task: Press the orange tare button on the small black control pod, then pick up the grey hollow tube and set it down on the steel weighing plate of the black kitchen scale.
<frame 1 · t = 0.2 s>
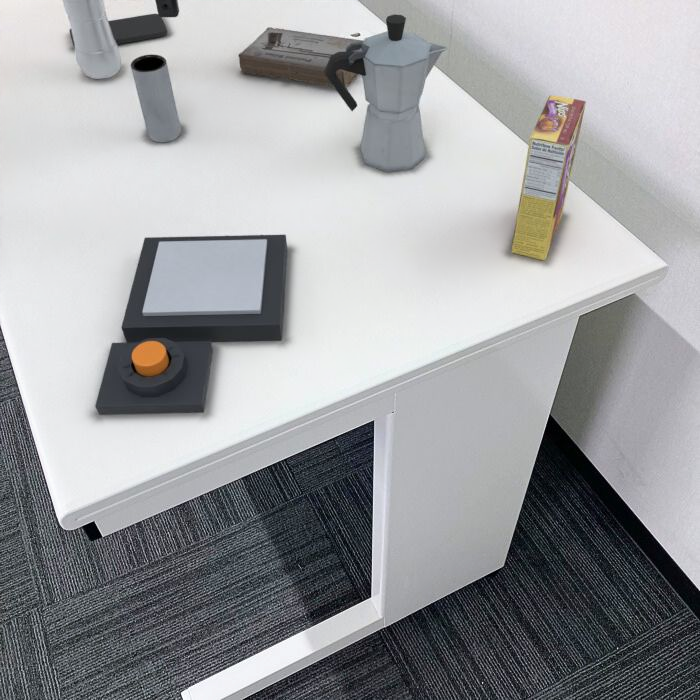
scale: (211, 294, 81), on the table
coffee maker: (384, 155, 98), on the table
candy box: (535, 235, 87), on the table
phone: (119, 35, 122), on the table
box: (305, 70, 113), on the table
grey hollow tube: (165, 134, 102), on the table
tare button: (150, 358, 70), point 3 cm above the table, slide at 0.1 cm
plastic bottle: (103, 74, 113), on the table
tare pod: (158, 381, 73), on the table
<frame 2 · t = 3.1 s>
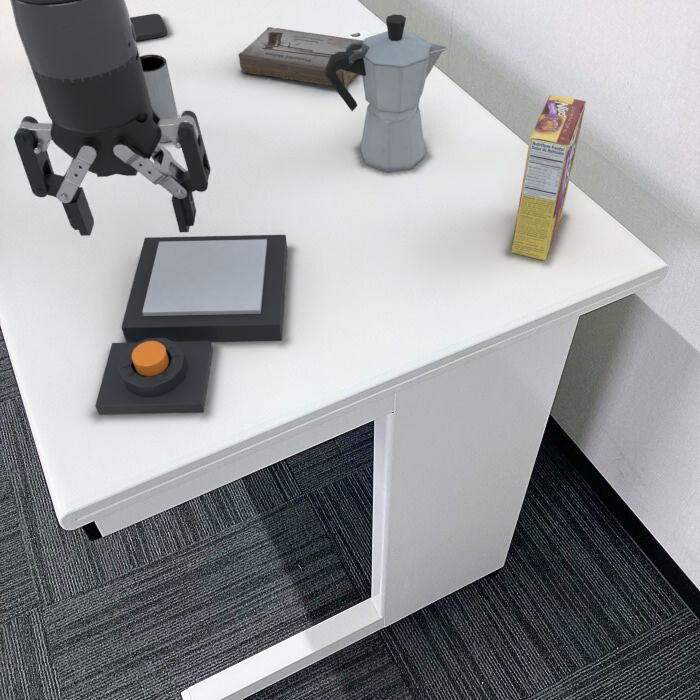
hand: (137, 228, 65), 15 cm above the table, tool pointing down, fingers open, 8 cm apart
nothing on the table moved.
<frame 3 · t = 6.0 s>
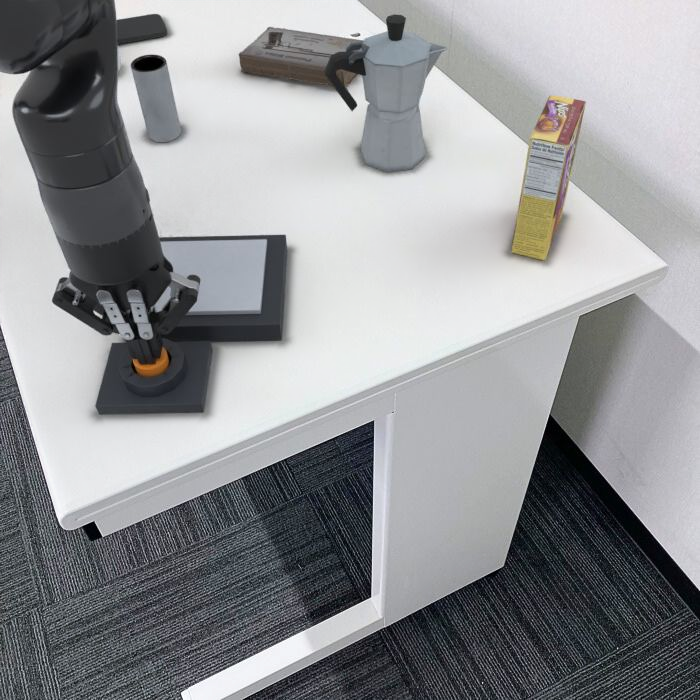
hand: (149, 357, 70), 4 cm above the table, tool pointing down, fingers closed
tare button: (151, 361, 71), point 3 cm above the table, slide at -0.3 cm, touching gripper
everything else where it was.
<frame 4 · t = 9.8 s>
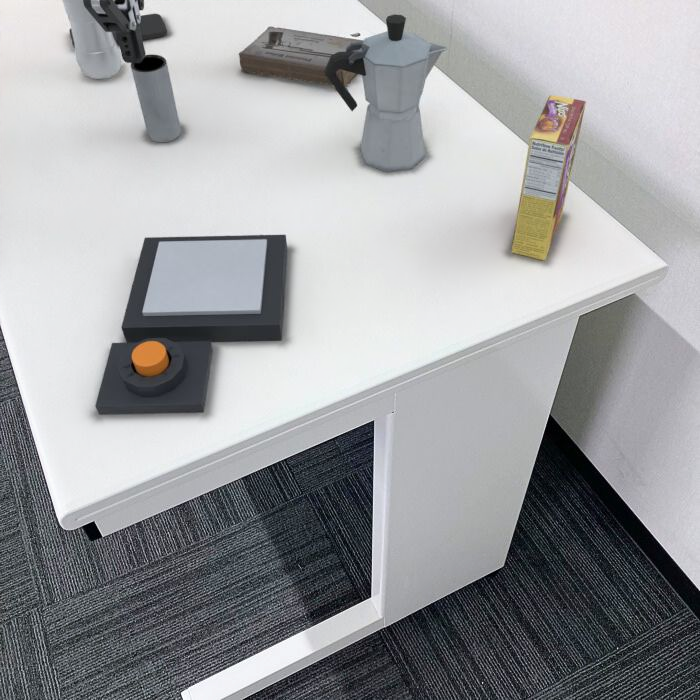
hand: (135, 59, 83), 16 cm above the table, tool pointing down, fingers closed
tare button: (150, 358, 70), point 3 cm above the table, slide at 0.1 cm
everything else where it was.
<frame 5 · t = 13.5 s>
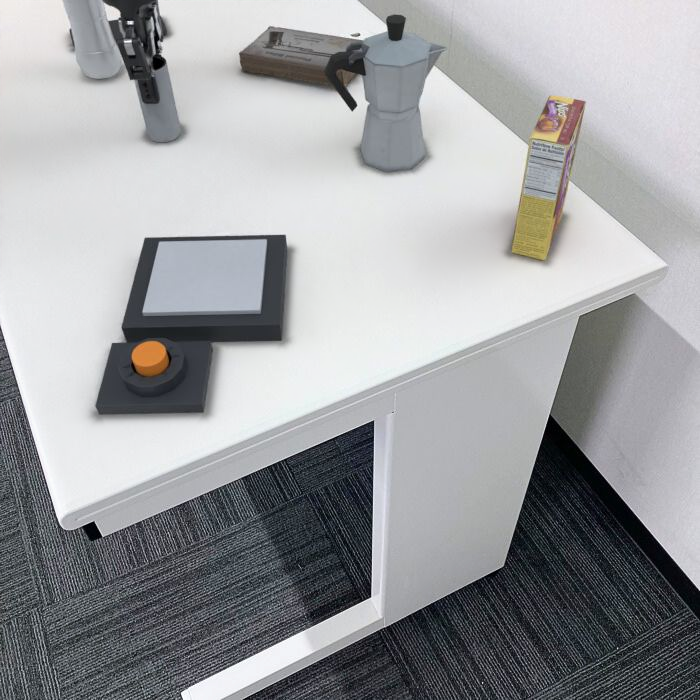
hand: (155, 91, 97), 6 cm above the table, tool pointing down, fingers closed on grey hollow tube, 4 cm apart
grey hollow tube: (165, 134, 102), on the table, touching gripper
everything else where it was.
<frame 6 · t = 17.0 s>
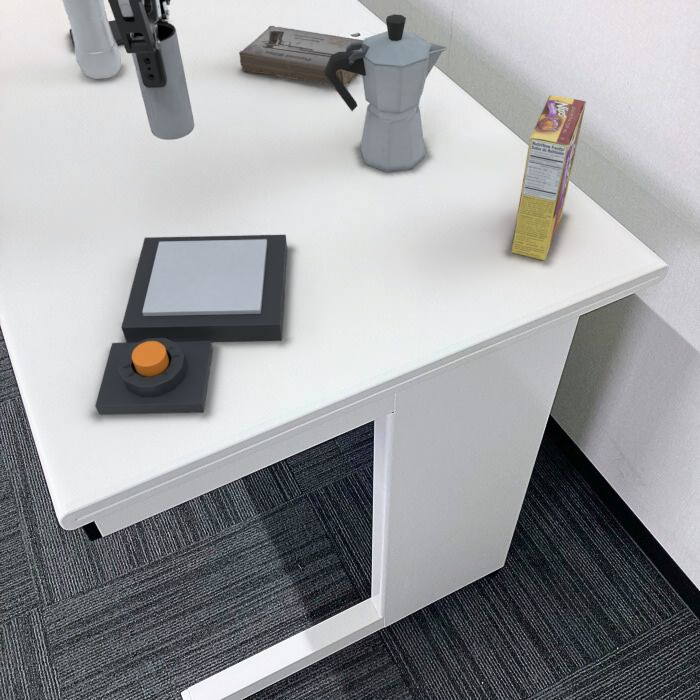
hand: (159, 71, 72), 20 cm above the table, tool pointing down, fingers closed on grey hollow tube, 4 cm apart
grey hollow tube: (173, 130, 77), point 14 cm above the table, touching gripper
everything else where it was.
when the fingers open (9 cm above the table, at t = 20.8 s): grey hollow tube stays where it is, point 3 cm above the table.
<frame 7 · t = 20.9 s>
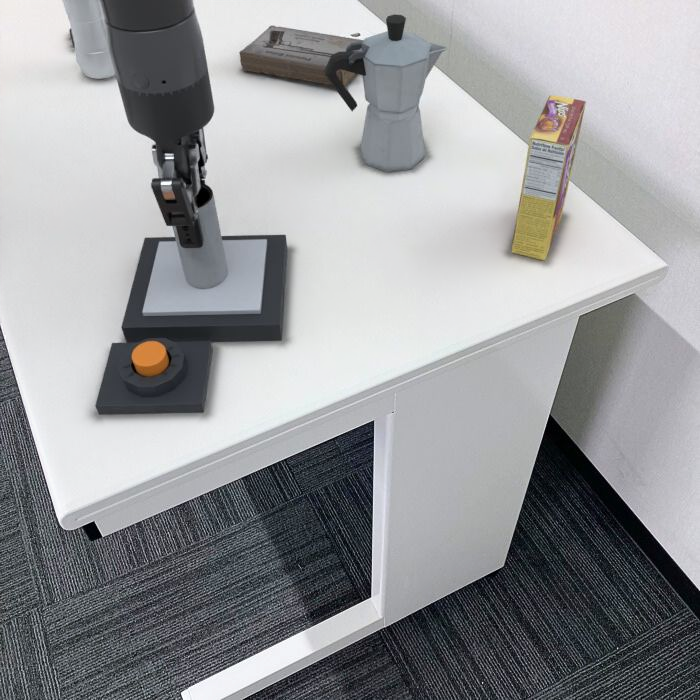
hand: (196, 227, 74), 9 cm above the table, tool pointing down, fingers open, 4 cm apart
grey hollow tube: (206, 275, 79), point 3 cm above the table
everything else where it was.
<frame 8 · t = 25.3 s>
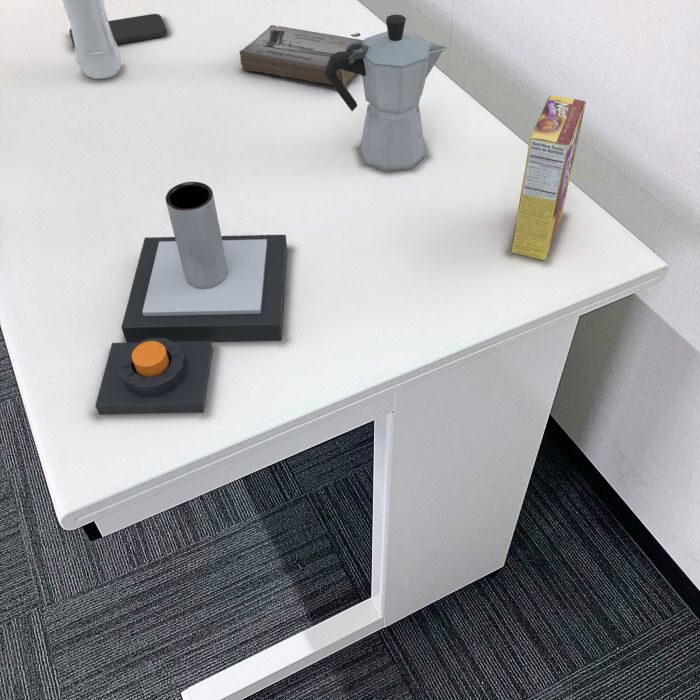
grey hollow tube: (206, 275, 79), point 3 cm above the table, touching scale
everything else where it was.
at the end: tare button pushed in 0.9 cm at the most during the clip, back to where it started at the end; tare button slide at 0.1 cm; grey hollow tube inside the target area on the scale (0.1 cm from its centre), point 2.9 cm above the scale's base; grey hollow tube tilted 0° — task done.
